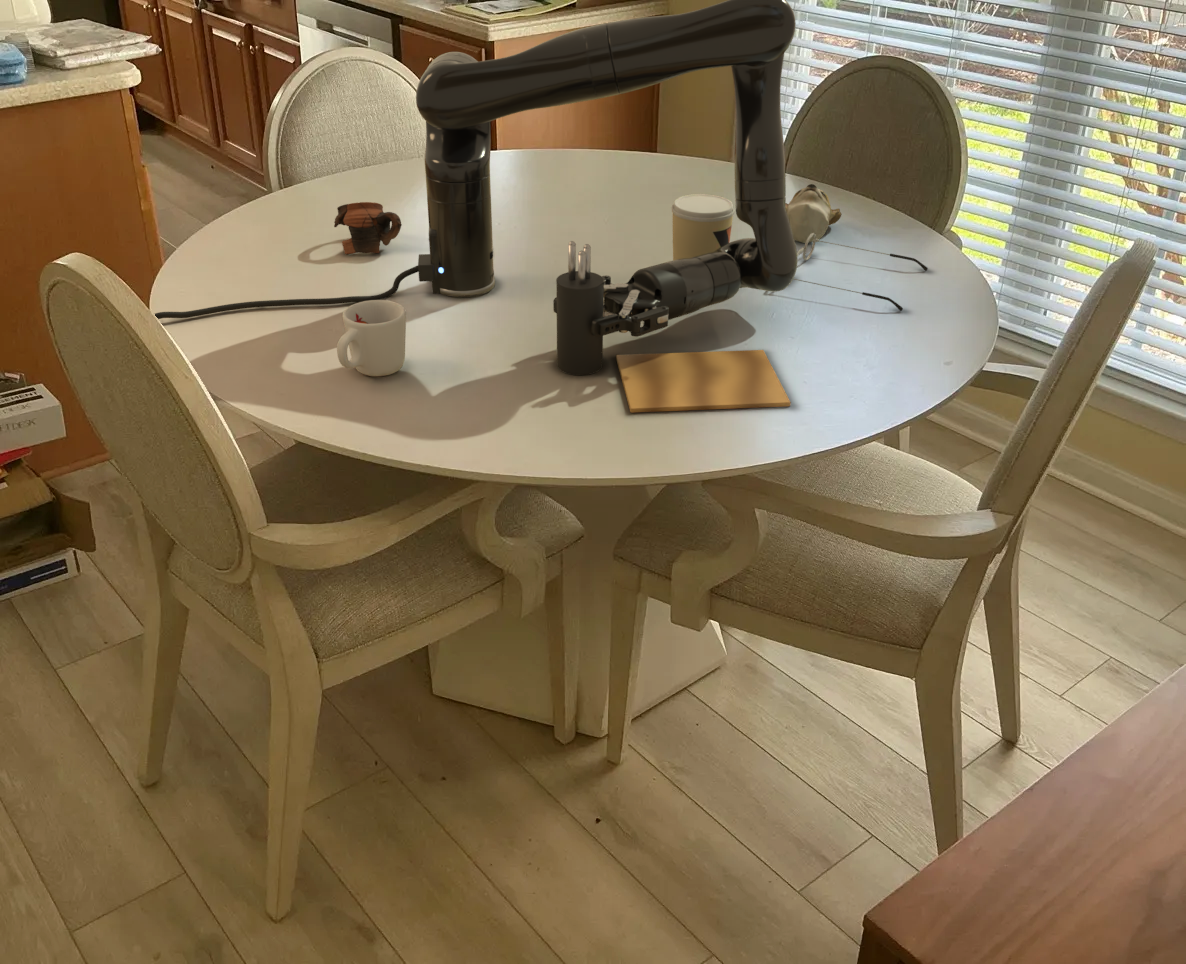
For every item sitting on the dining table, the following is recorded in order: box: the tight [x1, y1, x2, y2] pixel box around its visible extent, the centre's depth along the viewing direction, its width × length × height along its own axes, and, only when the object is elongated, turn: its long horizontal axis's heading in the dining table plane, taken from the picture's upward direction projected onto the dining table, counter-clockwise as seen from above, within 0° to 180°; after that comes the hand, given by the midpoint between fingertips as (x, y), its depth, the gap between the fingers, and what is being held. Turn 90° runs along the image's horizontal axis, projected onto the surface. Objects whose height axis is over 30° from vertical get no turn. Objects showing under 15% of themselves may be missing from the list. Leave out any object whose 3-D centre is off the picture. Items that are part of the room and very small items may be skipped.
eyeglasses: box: [792, 233, 929, 312], centre depth 178 cm, size 18×19×4 cm
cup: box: [336, 299, 407, 377], centre depth 148 cm, size 11×8×8 cm
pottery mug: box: [333, 201, 403, 255], centre depth 187 cm, size 12×10×8 cm
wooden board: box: [615, 349, 792, 414], centre depth 149 cm, size 20×15×1 cm
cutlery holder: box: [555, 240, 604, 376], centre depth 148 cm, size 6×6×17 cm
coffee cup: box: [671, 193, 736, 261], centre depth 175 cm, size 9×9×12 cm
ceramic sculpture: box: [785, 183, 843, 244], centre depth 194 cm, size 11×9×15 cm
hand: (573, 317), depth 148 cm, fingers open, 8 cm apart
